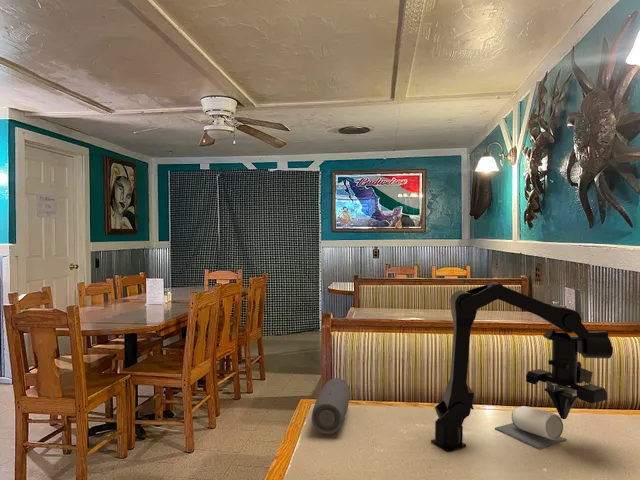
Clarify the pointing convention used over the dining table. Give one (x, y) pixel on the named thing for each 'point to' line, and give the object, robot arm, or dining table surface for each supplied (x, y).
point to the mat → (528, 436)
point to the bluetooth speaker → (331, 406)
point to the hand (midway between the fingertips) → (563, 418)
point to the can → (537, 422)
